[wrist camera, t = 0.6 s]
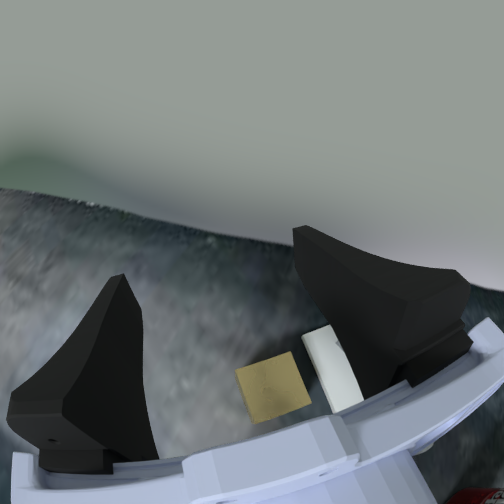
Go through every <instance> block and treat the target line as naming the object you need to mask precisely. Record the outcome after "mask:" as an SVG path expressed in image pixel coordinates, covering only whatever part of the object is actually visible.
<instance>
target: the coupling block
mask: <svg viewBox="0 0 504 504" xmlns="http://www.w3.org/2000/svg"><path fill="white" fill-rule="evenodd" d="M235 379H236V382H237V385H238V388H239V390H240V393H241V396H242V399H243V401H244V404H245V407H246V409H247V412H248V415H249V417H250V420H251V423H252V424H257V423H260V422H263V421H266V420H269V419H272V418H274V417H277V416H280V415H283V414H285V413H288V412H291V411H293V410H296V409H298V408H301V407H303V406H306V405H308V404H311V403H312V402H311V400H310V397H309V395H308V393H307V390H306V388H305V385H304V383H303V380H302V378H301V376H300V373H299V371H298V368H297V366H296V363H295V361H294V359H293V356H292V354H291V351H290V352H287V353H284V354H281V355H279V356H276V357H273V358H270V359H267V360H264V361H261V362H258V363H255V364H252V365H249V366H246V367H243V368H239V369H236V370H235Z"/></svg>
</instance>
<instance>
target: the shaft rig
mask: <svg viewBox="0 0 504 504" xmlns="http://www.w3.org/2000/svg"><path fill="white" fill-rule="evenodd" d="M301 338H302V340H303V343H304V345H305V348H306V350H307V352H308V355H309V357H310V359H311V362H312V364H313V366H314V369H315V371H316V373H317V376H318V378H319V381H320V383H321V385H322V388H323V390H324V392H325V395H326V397H327V400H328V402H329V404H330V407H331V409H332V412H333V414H334V413H337V412H339V411H342V410H344V409H346V408H349V407H351V406H353V405H355V404H358V403H360V402H362V401H364V399H363V396H362V393H361V391H360V388H359V385H358V383H357V380H356V378H355V376H354V373H353V371H352V368H351V366H350V364H349V362H348V360H347V357H346V355H345V353H344V351H343V349H342V347H341V345H340V343H339V341H338V339H337V337H336V335H335V333H334V331H333V329H332V327H331V326H330V325H328V326H325V327H323V328H320V329H317V330H315V331H312V332H310V333H307V334H304V335H303V336H302V337H301ZM433 444H434V442H433V443H432V444H430V445H429V446H427V447H426V448H425V449H423V450H422V451H420V452H418V453H417V454H415V455H418V454H421V453H423V452H425V451H427V450H428V449H430V448H431V447H432V446H433Z"/></svg>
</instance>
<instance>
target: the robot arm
mask: <svg viewBox="0 0 504 504" xmlns="http://www.w3.org/2000/svg"><path fill="white" fill-rule="evenodd" d="M293 242H294V257H295V268H296V270H297V272H298V275H299V277H300V279H301V281H302V283H303V285H304V286H305V288H306V290H307V291H308V293H309V294H310V296H311V297H312V299H313V300H314V301H315V303H316V304H317V306H318V307H319V309H320V310H321V312H322V313H323V315H324V316H325V318H326V319H327V321H328V322H329V324H330V326H331V327H332V329H333V331H334V333H335V335H336V337H337V339H338V341H339V343H340V345H341V347H342V349H343V351H344V353H345V355H346V357H347V360H348V362H349V364H350V366H351V368H352V371H353V373H354V376H355V378H356V380H357V383H358V385H359V388H360V391H361V393H362V396H363V399H364V401H362V402H360V403H358V404H355V405H353V406H351V407H349V408H346V409H344V410H342V411H339V412H337V413H334V414H332V415H324V416H321V417H317V418H314V419H310V420H306V421H303V422H300V423H298V424H295V425H292V426H289V427H286V428H283V429H279V430H276V431H273V432H270V433H266V434H263V435H259V436H256V437H252V438H249V439H245V440H241V441H237V442H233V443H229V444H224V445H220V446H215V447H211V448H207V449H204V450H201V451H197V452H194V453H192V454H191V455H187V456H181V457H174V458H167V459H159V456H158V453H157V449H156V446H155V443H154V439H153V435H152V431H151V426H150V422H149V417H148V412H147V406H146V400H145V393H144V386H143V320H142V311H141V308H140V306H139V304H138V302H137V300H136V298H135V296H134V294H133V292H132V290H131V288H130V286H129V283H128V281H127V279H126V277H125V275H124V274H120V275H117V276H113V277H111V278H110V279H109V280H108V282H107V283H106V284H105V286H104V287H103V289H102V290H101V292H100V294H99V295H98V297H97V298H96V300H95V301H94V303H93V304H92V306H91V307H90V309H89V310H88V312H87V313H86V315H85V316H84V318H83V319H82V321H81V322H80V323H79V325H78V326H77V328H76V329H75V331H74V332H73V333H72V334H71V336H70V337H69V338H68V339H67V341H66V342H65V343H64V344H63V346H62V347H61V348H60V349H59V350H58V351H57V352H56V353H55V354H54V355H53V356H52V358H51V359H50V360H49V361H48V362H47V363H46V364H45V365H44V366H43V367H42V368H41V369H40V370H38V371H37V372H36V373H35V374H34V375H33V376H32V377H31V378H29V379H28V380H27V381H26V382H24V383H23V384H22V385H20V386H19V387H18V388H17V389H15V390H14V391H13V392H12V393H11V397H10V402H9V407H8V413H7V418H6V421H7V423H8V425H9V427H10V428H11V429H12V430H13V431H14V432H15V433H17V434H18V435H19V436H21V437H22V438H23V439H25V440H26V441H28V442H29V443H31V444H32V445H34V446H36V447H37V448H39V449H40V452H39V456H38V455H35V454H32V453H23V452H13V461H12V479H11V504H437V502H436V500H435V498H434V496H433V494H432V492H431V491H430V489H429V487H428V485H427V483H426V481H425V480H424V478H423V476H422V474H421V472H420V471H419V469H418V467H417V465H416V464H415V462H414V460H413V458H412V456H414V455H415V454H417V453H418V452H420V451H422V450H423V449H425V448H426V447H427V446H429V445H430V444H432V443H433V442H435V441H436V440H437V439H439V438H440V437H442V436H443V435H444V434H446V433H447V432H448V431H450V430H451V429H452V428H453V427H455V426H456V425H457V424H459V423H460V422H461V421H462V420H463V419H465V418H466V417H467V416H468V415H470V414H471V413H472V412H473V411H474V410H475V409H477V408H478V407H479V406H480V405H481V404H482V403H483V402H485V401H486V400H487V399H488V398H489V397H490V396H491V395H492V394H493V393H494V392H495V391H496V390H497V389H498V388H499V387H500V386H501V385H502V384H503V382H504V333H503V332H502V331H501V330H500V329H499V328H498V327H497V326H496V325H495V324H494V323H493V321H492V320H491V319H490V318H489V317H488V318H486V319H484V320H483V321H481V322H480V323H479V324H477V325H476V326H475V327H473V328H472V329H471V330H470V331H469V332H468V334H467V333H466V332H465V331H464V330H463V328H464V327H465V323H464V322H463V321H462V320H461V319H460V317H461V315H462V313H463V311H464V309H465V307H466V304H467V302H468V299H469V296H470V291H471V287H470V283H469V282H468V281H467V280H466V279H465V278H463V276H461V275H460V274H459V273H458V272H457V271H456V270H453V269H439V268H429V267H422V266H415V265H410V264H405V263H400V262H396V261H392V260H389V259H385V258H382V257H379V256H376V255H373V254H370V253H367V252H364V251H362V250H360V249H357V248H355V247H352V246H350V245H348V244H345V243H343V242H341V241H339V240H337V239H335V238H333V237H330V236H328V235H326V234H324V233H322V232H320V231H318V230H316V229H314V228H312V227H309V226H307V225H305V226H301V227H297V228H293Z"/></svg>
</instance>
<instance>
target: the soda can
mask: <svg viewBox="0 0 504 504" xmlns="http://www.w3.org/2000/svg"><path fill="white" fill-rule="evenodd" d="M446 504H504V488H481V487H468V488H465V489H462V490H461V491H459V492H457V493H456V494H455V495H453V496H452V497H451V498H450V499H449V500H448V501H447V503H446Z"/></svg>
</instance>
